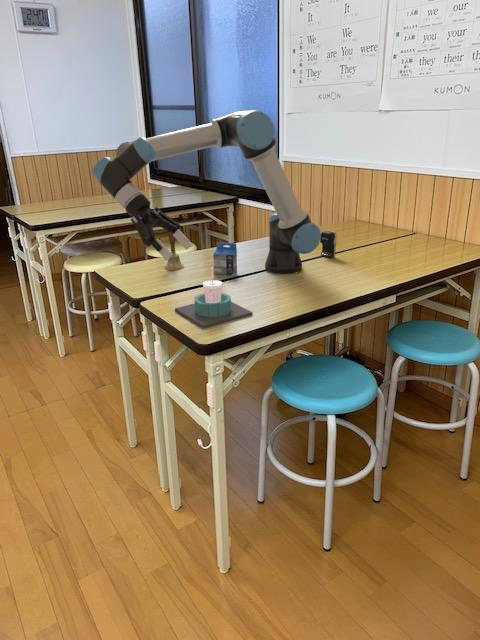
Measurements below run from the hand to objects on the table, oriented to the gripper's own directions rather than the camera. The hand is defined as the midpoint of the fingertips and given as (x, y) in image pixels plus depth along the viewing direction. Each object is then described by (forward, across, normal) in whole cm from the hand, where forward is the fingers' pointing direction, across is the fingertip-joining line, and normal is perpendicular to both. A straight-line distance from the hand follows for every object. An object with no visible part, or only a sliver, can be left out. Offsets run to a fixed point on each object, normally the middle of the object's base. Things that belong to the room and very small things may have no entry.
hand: (179, 252), depth 153 cm
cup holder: (+21, 0, -6) cm, 22 cm away
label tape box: (+12, -42, -15) cm, 46 cm away
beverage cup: (+20, 0, -6) cm, 21 cm away
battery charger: (+36, -78, +9) cm, 86 cm away
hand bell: (-5, -44, -32) cm, 54 cm away
